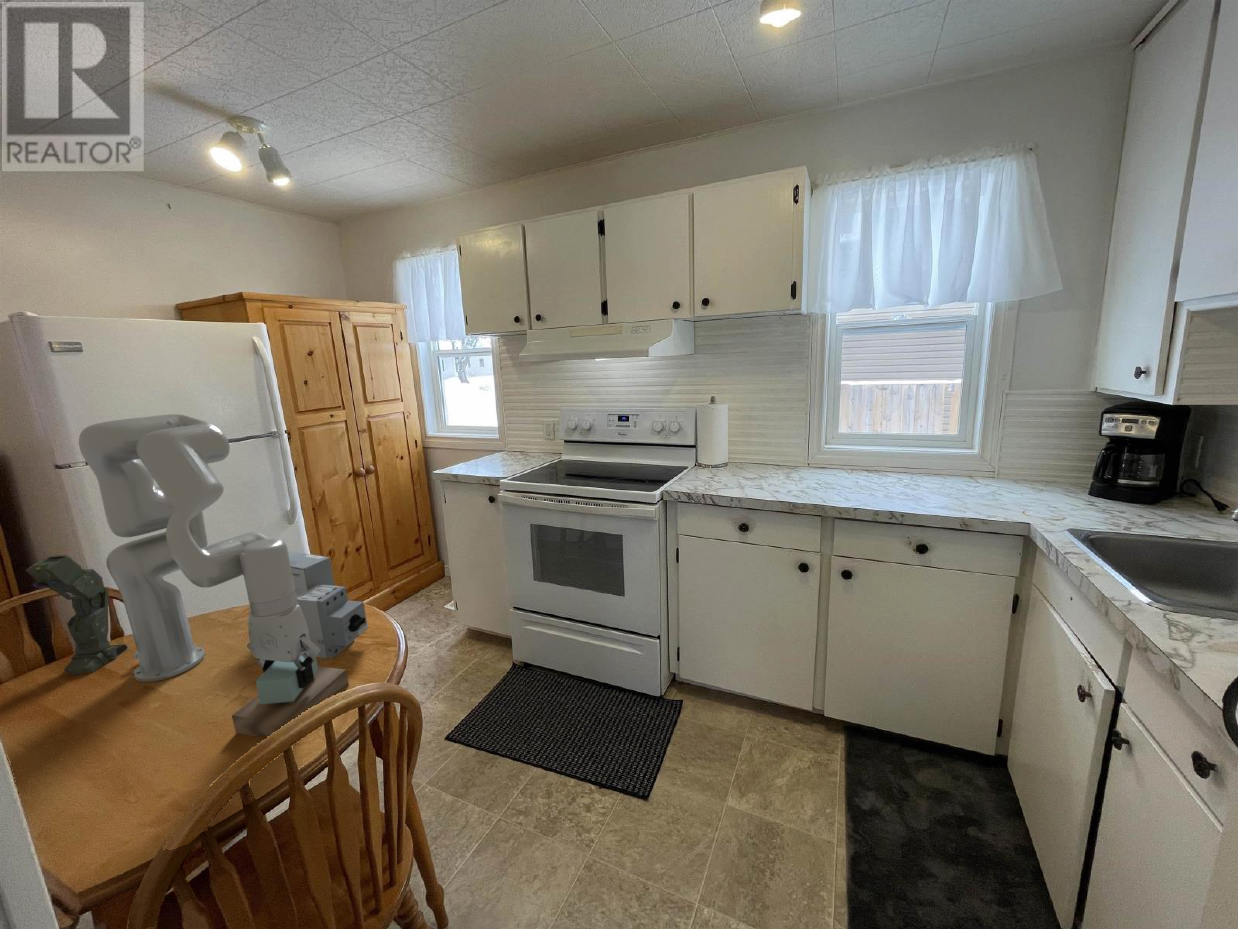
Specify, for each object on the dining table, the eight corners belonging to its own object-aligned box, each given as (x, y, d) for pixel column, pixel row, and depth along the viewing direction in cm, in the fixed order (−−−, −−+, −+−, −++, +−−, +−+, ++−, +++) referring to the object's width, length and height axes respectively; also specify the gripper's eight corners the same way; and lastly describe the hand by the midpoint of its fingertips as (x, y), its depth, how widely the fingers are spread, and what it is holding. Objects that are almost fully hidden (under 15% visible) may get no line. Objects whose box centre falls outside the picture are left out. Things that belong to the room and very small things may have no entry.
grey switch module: (343, 627, 134) (331, 557, 130) (317, 642, 127) (303, 569, 123) (303, 617, 140) (290, 550, 135) (276, 631, 133) (261, 561, 128)
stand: (235, 733, 97) (231, 715, 96) (301, 680, 112) (298, 664, 112) (289, 740, 95) (285, 722, 94) (348, 685, 110) (345, 669, 109)
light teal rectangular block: (293, 701, 98) (288, 678, 97) (260, 704, 97) (255, 681, 96) (318, 669, 108) (314, 648, 106) (288, 672, 107) (284, 651, 106)
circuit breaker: (355, 661, 119) (345, 603, 116) (303, 655, 122) (292, 599, 118) (375, 643, 126) (367, 588, 123) (326, 638, 129) (316, 584, 126)
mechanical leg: (114, 638, 130) (54, 543, 117) (144, 636, 131) (88, 541, 117) (67, 682, 118) (-6, 582, 105) (100, 680, 119) (32, 580, 105)
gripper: (218, 609, 96) (237, 689, 100) (296, 615, 93) (313, 699, 97) (253, 590, 104) (269, 666, 108) (327, 596, 100) (340, 674, 104)
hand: (290, 681), depth 102 cm, fingers closed on light teal rectangular block, 7 cm apart
